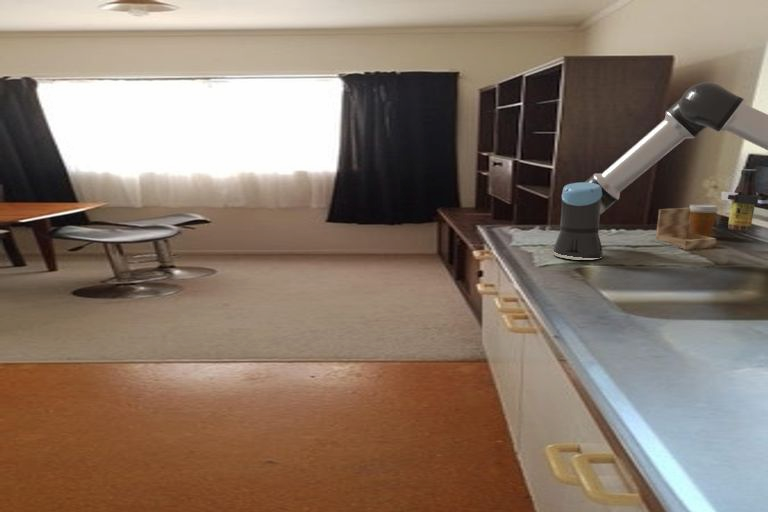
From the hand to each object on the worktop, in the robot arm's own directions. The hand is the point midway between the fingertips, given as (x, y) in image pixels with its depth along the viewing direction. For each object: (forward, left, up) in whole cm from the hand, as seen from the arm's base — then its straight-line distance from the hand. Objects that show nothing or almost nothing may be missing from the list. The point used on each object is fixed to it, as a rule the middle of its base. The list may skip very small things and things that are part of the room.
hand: (730, 195), depth 166 cm
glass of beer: (+7, +17, -18) cm, 26 cm away
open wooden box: (-9, +7, -18) cm, 21 cm away
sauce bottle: (0, -5, -11) cm, 12 cm away
